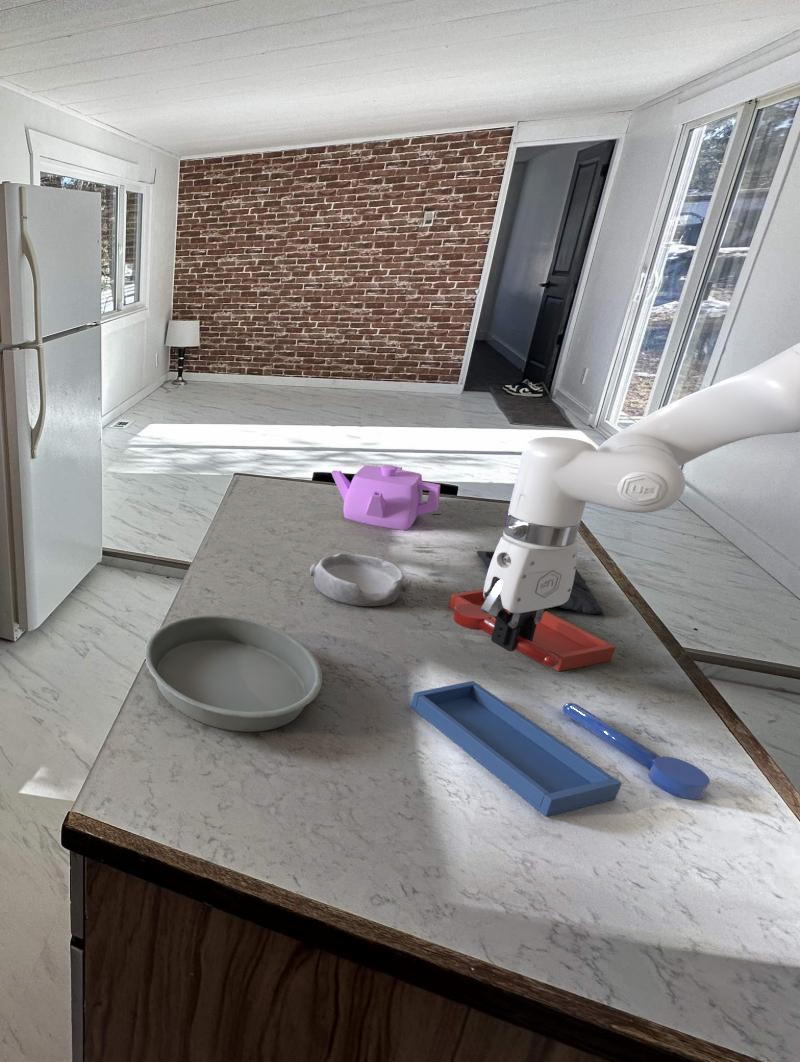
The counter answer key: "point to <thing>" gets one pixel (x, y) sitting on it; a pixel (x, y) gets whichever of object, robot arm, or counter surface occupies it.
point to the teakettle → (386, 496)
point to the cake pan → (232, 671)
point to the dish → (359, 579)
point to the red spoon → (480, 620)
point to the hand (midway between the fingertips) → (510, 643)
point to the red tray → (555, 637)
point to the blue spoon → (646, 757)
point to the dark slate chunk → (578, 598)
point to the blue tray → (515, 749)
